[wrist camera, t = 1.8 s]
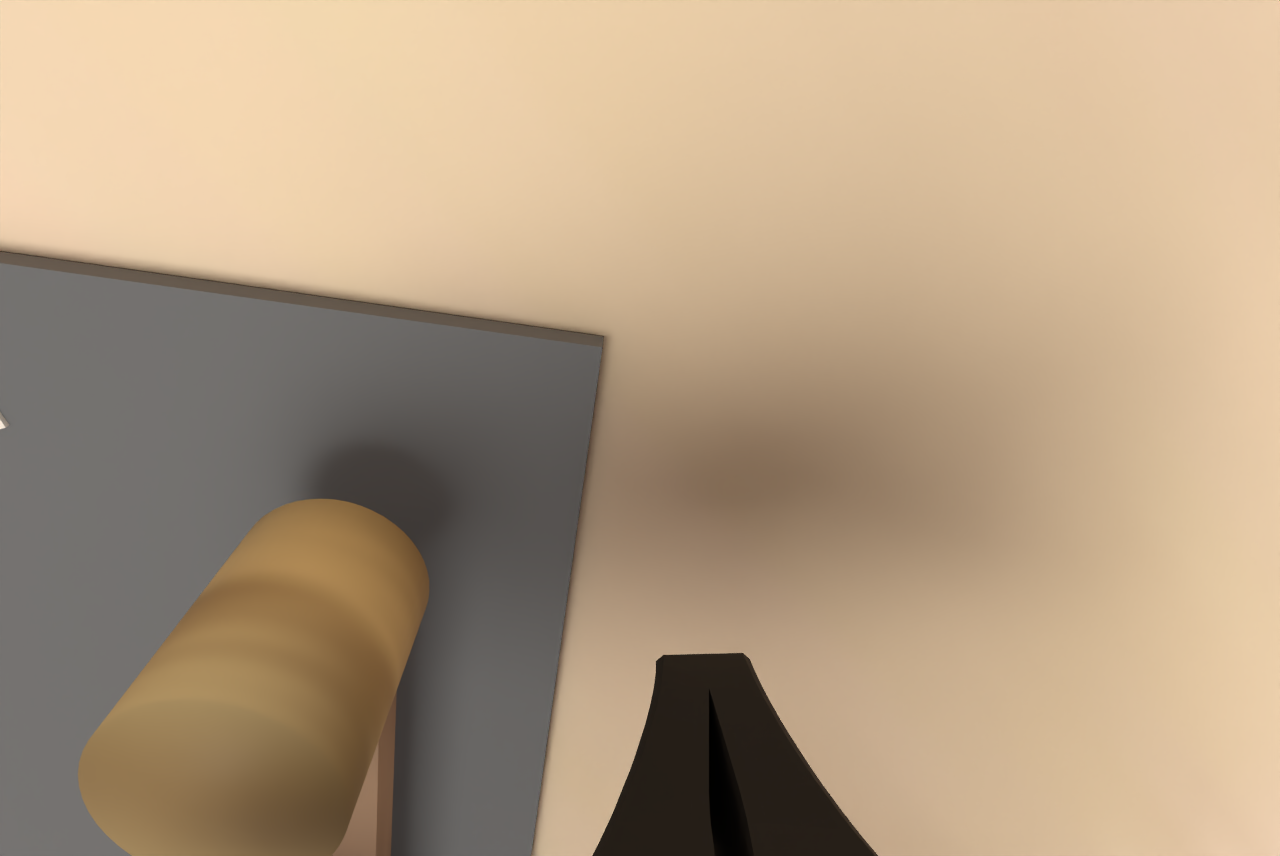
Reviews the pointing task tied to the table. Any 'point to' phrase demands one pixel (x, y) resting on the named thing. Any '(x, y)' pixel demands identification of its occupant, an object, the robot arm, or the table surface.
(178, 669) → the lever
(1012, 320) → the table surface
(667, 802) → the robot arm
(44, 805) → the plate
